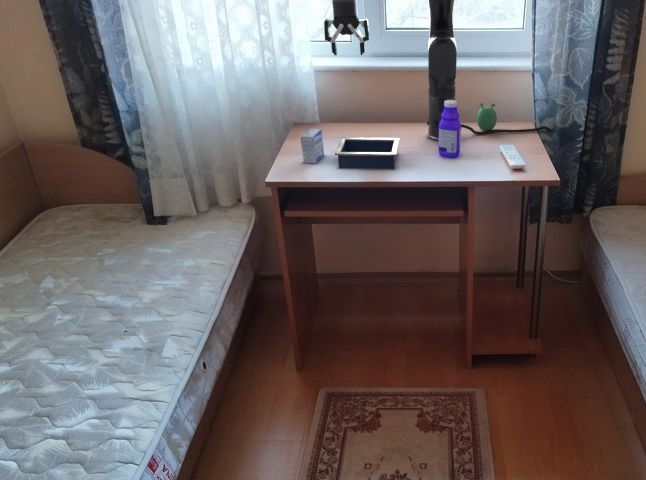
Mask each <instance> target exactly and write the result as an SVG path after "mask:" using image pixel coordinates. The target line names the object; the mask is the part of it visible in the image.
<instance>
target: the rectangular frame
mask: <svg viewBox="0 0 646 480" xmlns="http://www.w3.org/2000/svg"><path fill="white" fill-rule="evenodd" d="M399 144H400V137H341V138H340V140H339V142H338V145H337V147H336V149H335V152H334V156H337V161H338V162H337V163H338V169H347V170H349V169H351V170H353V169H355V170H357V169H358V170H394V169H395V167H396V162H397V159H398V158H397V157H398V148H399Z"/></svg>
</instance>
